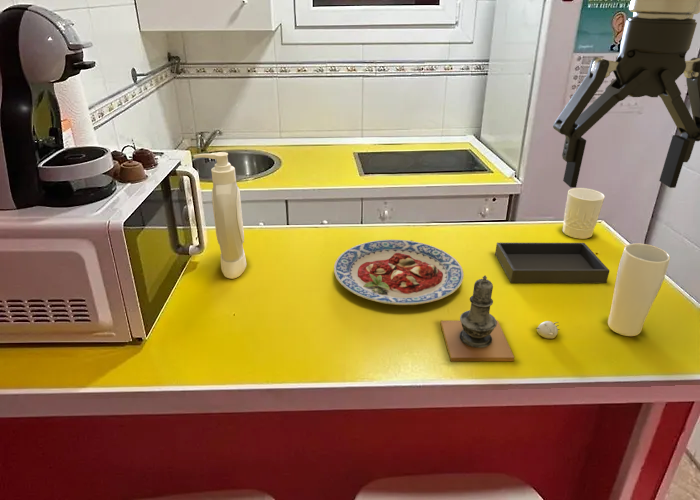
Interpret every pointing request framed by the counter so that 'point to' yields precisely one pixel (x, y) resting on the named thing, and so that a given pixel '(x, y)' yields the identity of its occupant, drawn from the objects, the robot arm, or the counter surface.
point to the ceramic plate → (398, 272)
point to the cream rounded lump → (548, 329)
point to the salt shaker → (479, 316)
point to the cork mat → (464, 352)
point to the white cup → (582, 212)
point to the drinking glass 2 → (636, 287)
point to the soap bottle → (227, 215)
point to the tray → (550, 263)
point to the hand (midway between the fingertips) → (618, 184)
